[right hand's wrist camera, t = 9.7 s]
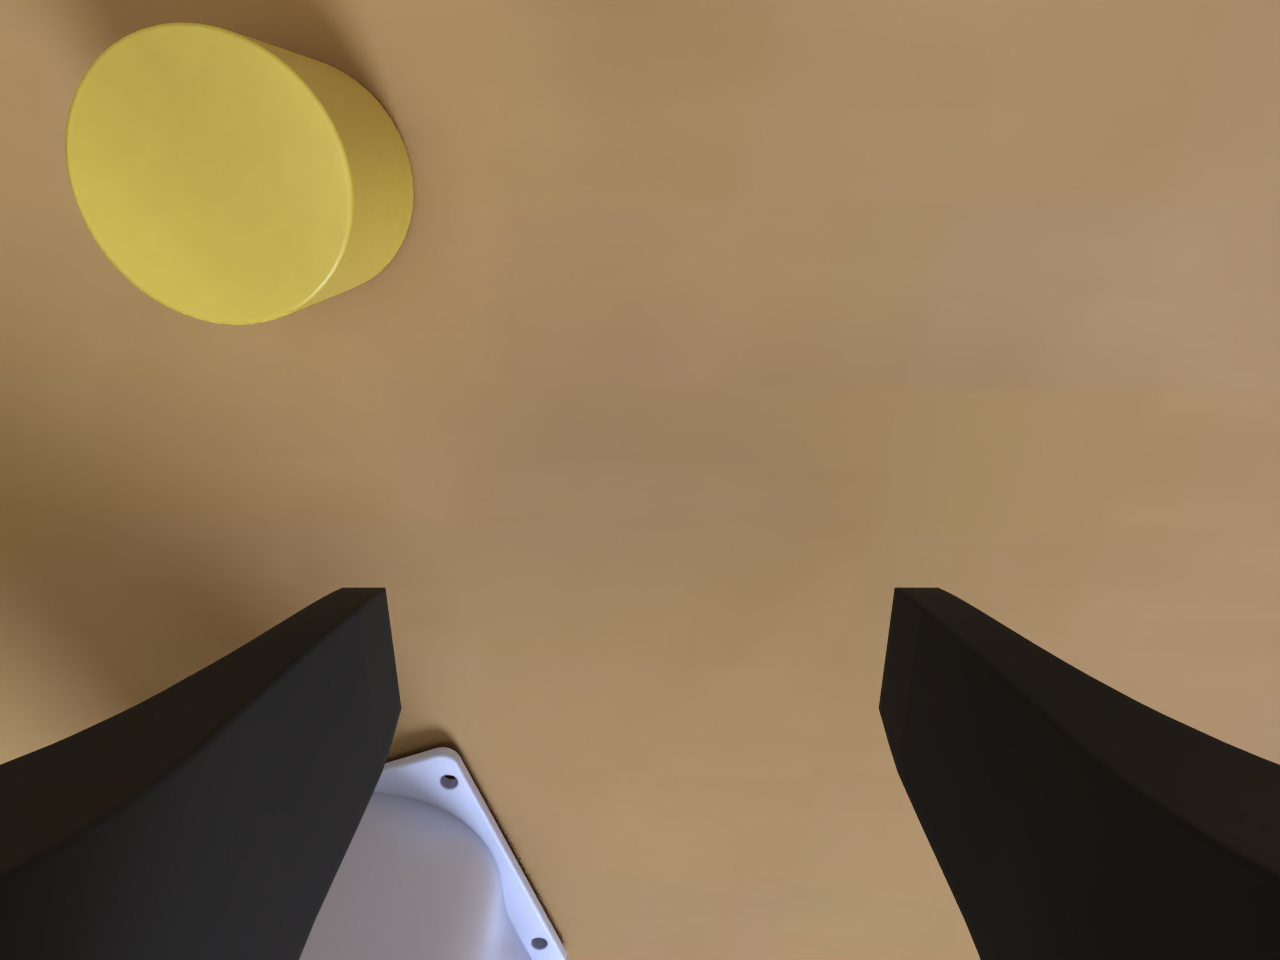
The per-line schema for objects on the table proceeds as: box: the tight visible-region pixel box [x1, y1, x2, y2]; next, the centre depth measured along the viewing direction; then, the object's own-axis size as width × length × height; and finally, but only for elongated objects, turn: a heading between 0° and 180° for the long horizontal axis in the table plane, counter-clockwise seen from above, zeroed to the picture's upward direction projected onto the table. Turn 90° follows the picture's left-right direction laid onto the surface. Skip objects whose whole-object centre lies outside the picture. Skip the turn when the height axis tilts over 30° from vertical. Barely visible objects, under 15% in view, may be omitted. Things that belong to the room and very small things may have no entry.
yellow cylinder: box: [65, 22, 414, 325], centre depth 16 cm, size 5×5×4 cm
